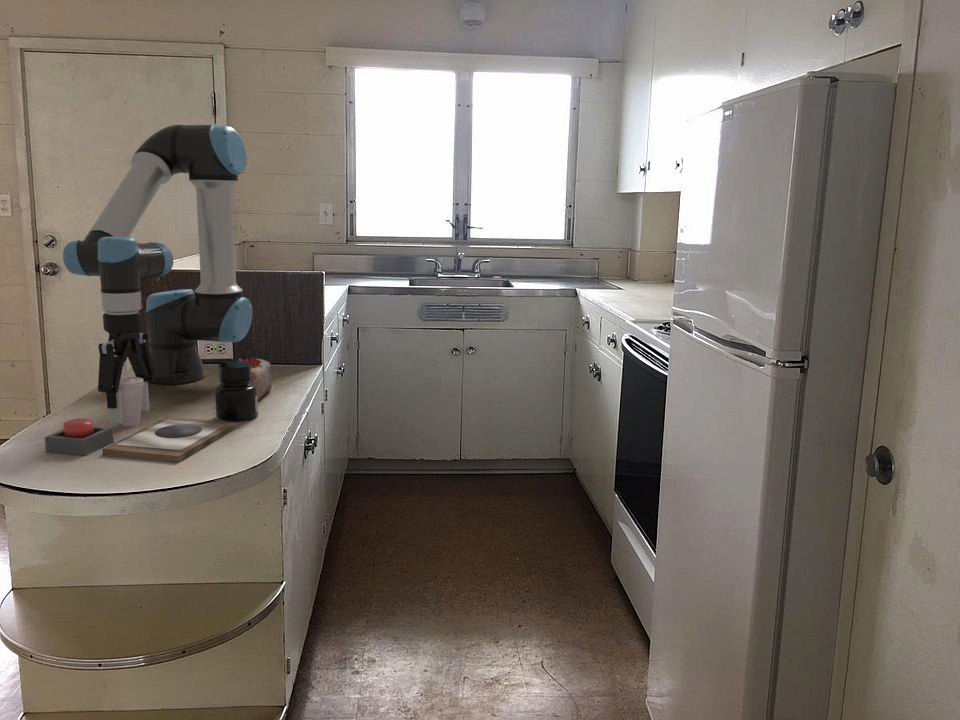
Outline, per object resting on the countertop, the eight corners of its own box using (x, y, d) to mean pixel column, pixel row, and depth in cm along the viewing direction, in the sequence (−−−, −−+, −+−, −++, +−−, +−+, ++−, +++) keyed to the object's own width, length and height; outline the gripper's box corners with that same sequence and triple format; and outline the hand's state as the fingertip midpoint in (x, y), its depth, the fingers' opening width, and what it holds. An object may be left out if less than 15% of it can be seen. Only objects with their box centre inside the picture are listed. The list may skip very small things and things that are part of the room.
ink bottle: (267, 416, 179) (265, 364, 176) (236, 425, 171) (233, 371, 169) (238, 408, 184) (236, 358, 181) (206, 417, 177) (204, 364, 174)
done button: (76, 429, 157) (75, 417, 157) (100, 431, 157) (99, 419, 156) (58, 437, 152) (57, 425, 152) (82, 439, 152) (81, 427, 151)
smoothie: (137, 418, 175) (132, 355, 172) (152, 423, 171) (148, 360, 168) (108, 424, 170) (103, 360, 167) (123, 430, 166) (118, 364, 163)
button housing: (75, 438, 160) (74, 424, 159) (113, 442, 158) (112, 427, 158) (46, 451, 152) (44, 436, 151) (85, 455, 150) (84, 440, 150)
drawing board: (168, 422, 172) (167, 415, 172) (236, 428, 169) (236, 421, 169) (102, 454, 151) (102, 447, 151) (179, 462, 148) (179, 454, 148)
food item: (258, 405, 187) (257, 364, 185) (224, 404, 187) (223, 363, 185) (274, 391, 201) (273, 352, 199) (243, 390, 201) (241, 352, 199)
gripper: (137, 303, 176) (143, 402, 181) (71, 318, 156) (80, 429, 160) (167, 305, 175) (173, 404, 180) (105, 320, 154) (114, 432, 159)
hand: (129, 416), depth 170 cm, fingers open, 9 cm apart
